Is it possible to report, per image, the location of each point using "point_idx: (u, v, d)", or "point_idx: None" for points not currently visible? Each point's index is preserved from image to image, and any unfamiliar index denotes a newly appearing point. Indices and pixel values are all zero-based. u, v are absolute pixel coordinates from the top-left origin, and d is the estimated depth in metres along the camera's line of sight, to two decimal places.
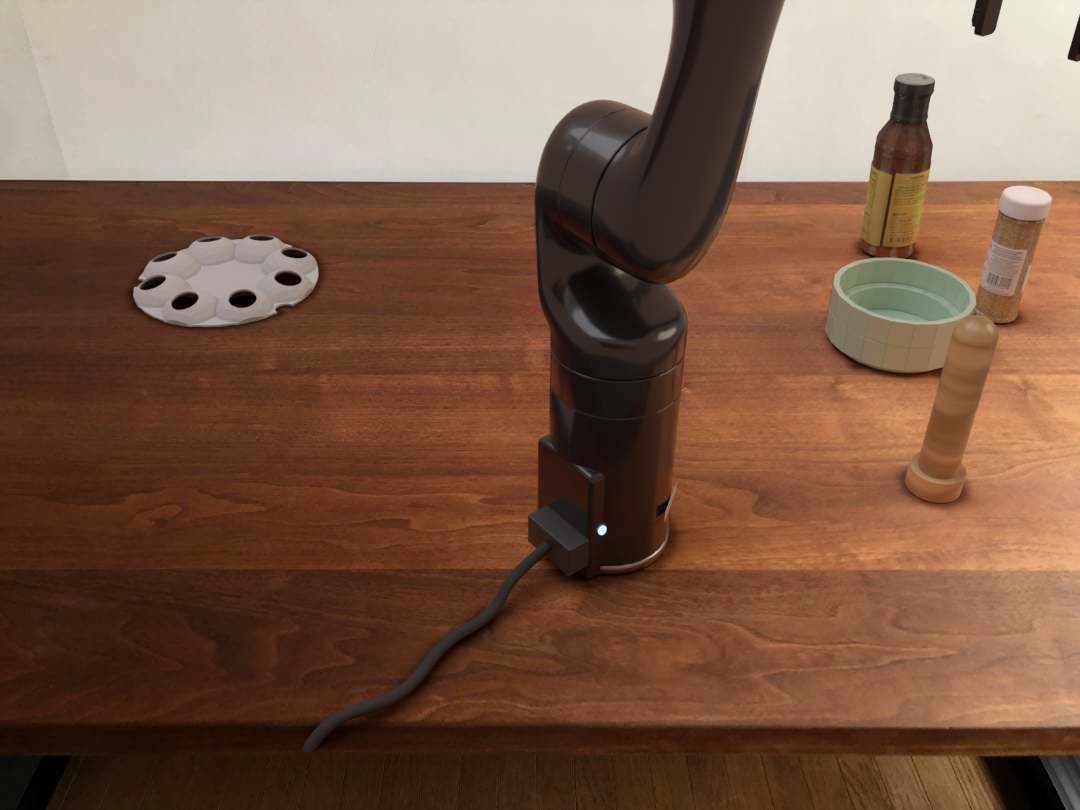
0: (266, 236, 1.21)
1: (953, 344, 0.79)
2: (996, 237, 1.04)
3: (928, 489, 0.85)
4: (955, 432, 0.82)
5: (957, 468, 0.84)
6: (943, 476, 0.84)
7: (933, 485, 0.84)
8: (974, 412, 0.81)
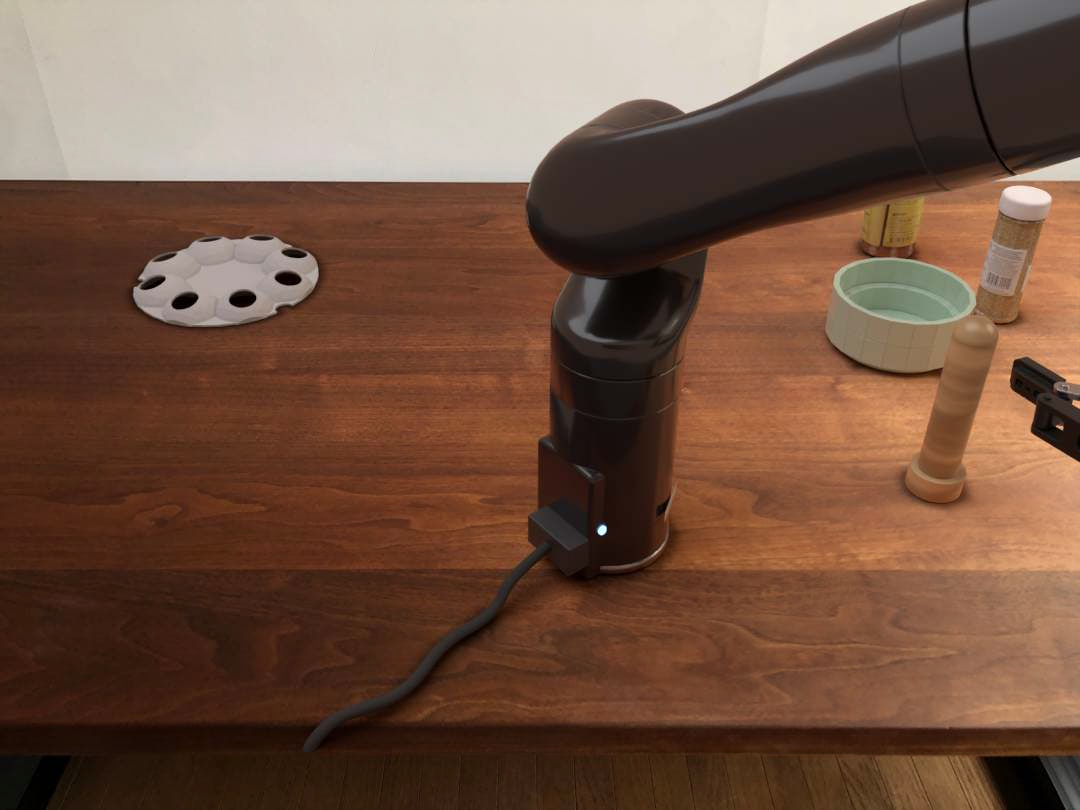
0: (266, 236, 1.21)
1: (953, 344, 0.79)
2: (996, 237, 1.04)
3: (928, 489, 0.85)
4: (955, 432, 0.82)
5: (957, 468, 0.84)
6: (943, 476, 0.84)
7: (933, 485, 0.84)
8: (974, 412, 0.81)
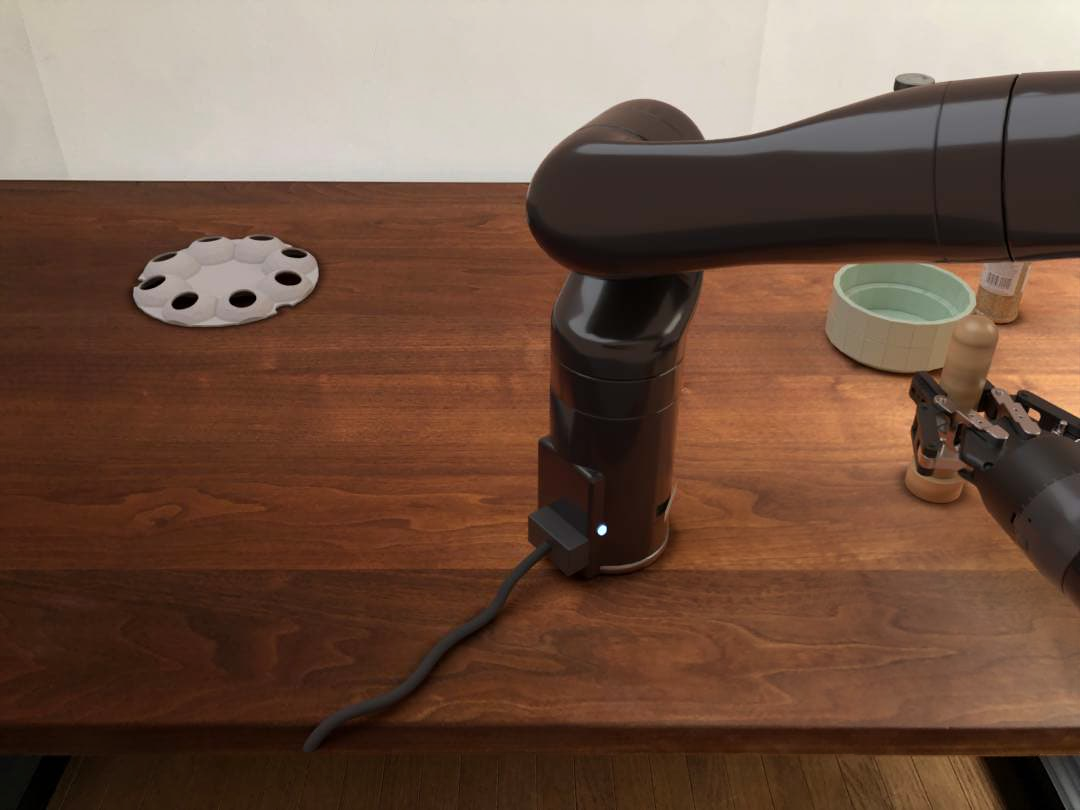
0: (266, 236, 1.21)
1: (953, 344, 0.79)
2: None
3: (928, 489, 0.85)
4: None
5: None
6: (943, 476, 0.84)
7: (933, 485, 0.84)
8: None
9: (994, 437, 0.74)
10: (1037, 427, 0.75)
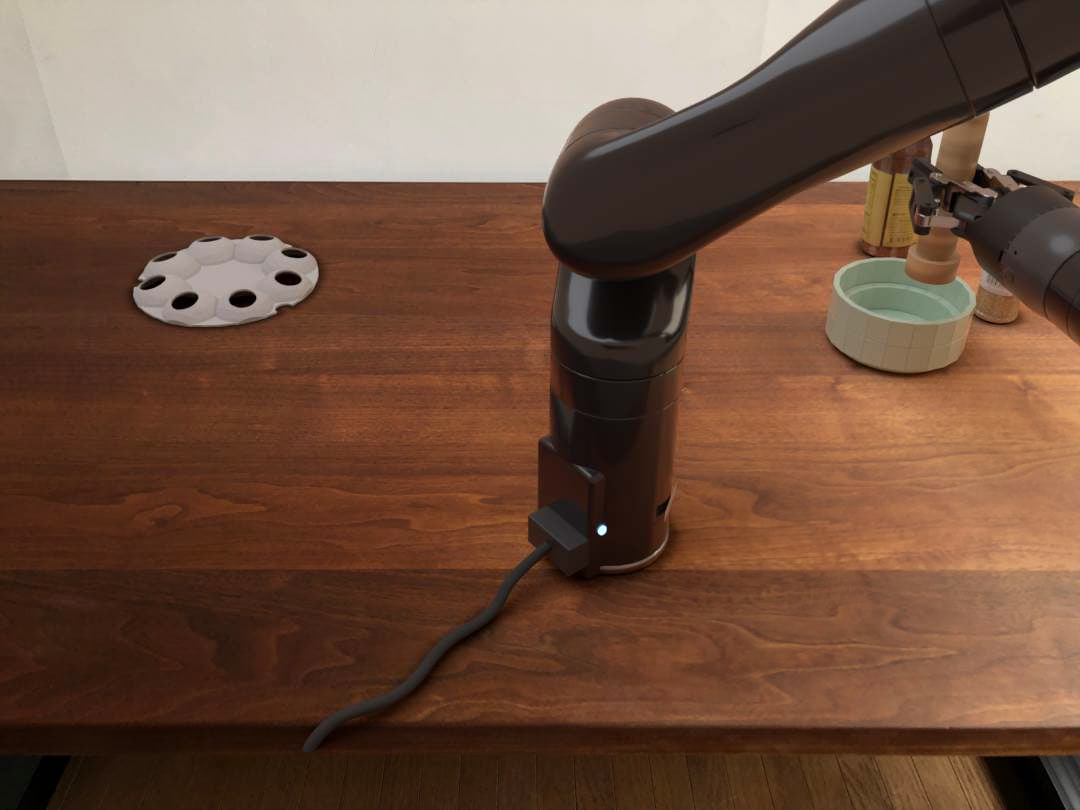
0: (266, 236, 1.21)
1: None
2: None
3: (925, 271, 0.91)
4: None
5: (952, 250, 0.91)
6: (939, 258, 0.91)
7: (930, 266, 0.91)
8: None
9: (984, 196, 0.81)
10: None
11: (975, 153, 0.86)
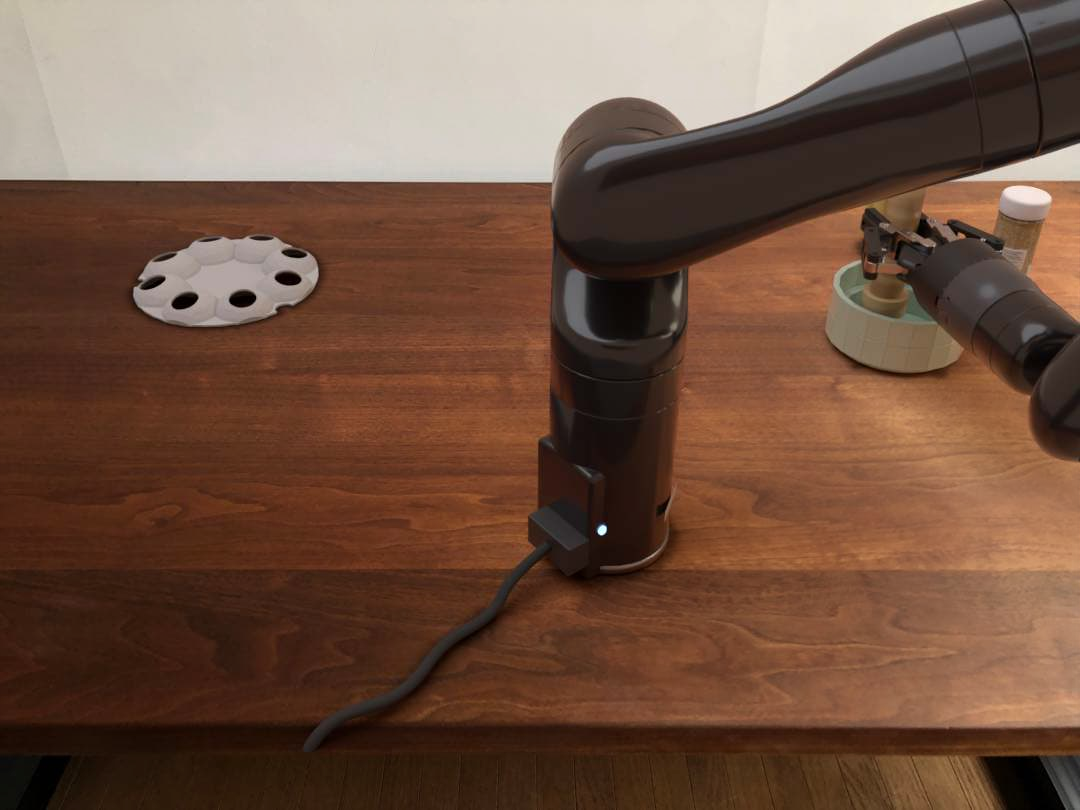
0: (266, 236, 1.21)
1: None
2: None
3: (877, 308, 1.02)
4: None
5: (901, 290, 1.02)
6: (889, 296, 1.02)
7: (881, 304, 1.02)
8: None
9: (924, 246, 0.92)
10: None
11: (918, 205, 0.97)
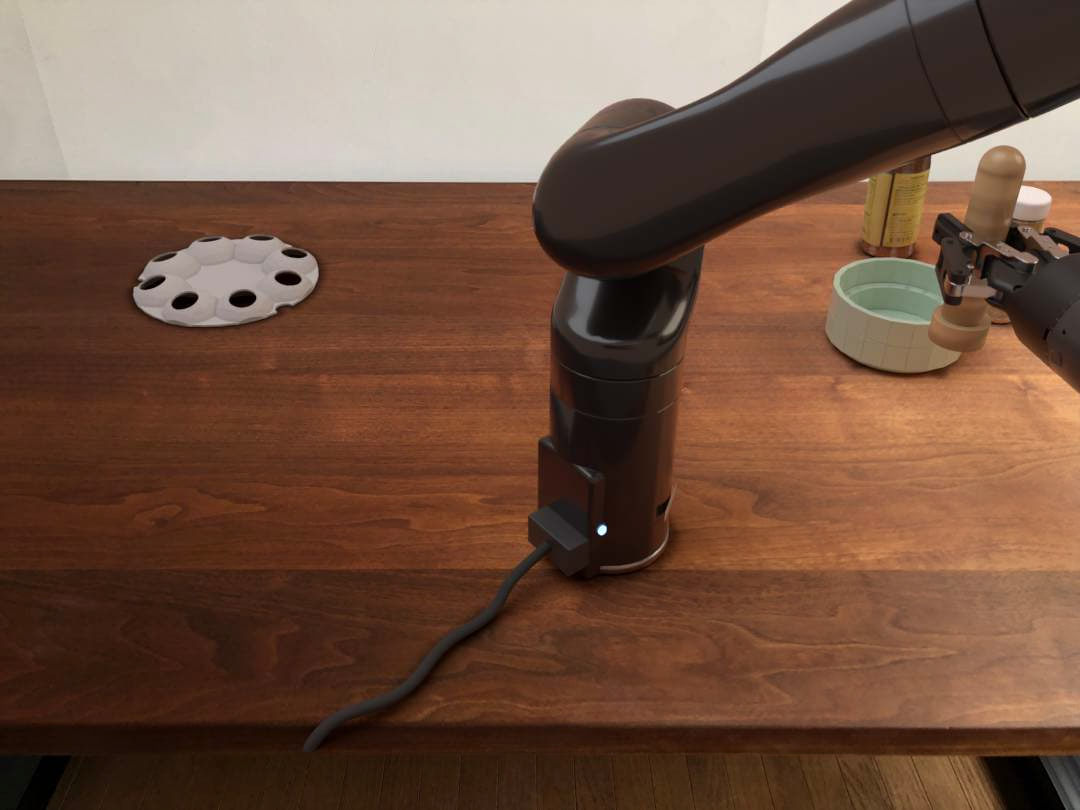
0: (266, 236, 1.21)
1: (979, 176, 0.77)
2: None
3: (952, 337, 0.82)
4: None
5: (982, 315, 0.82)
6: (968, 323, 0.82)
7: (958, 333, 0.82)
8: None
9: (1023, 262, 0.72)
10: (1067, 254, 0.73)
11: (1009, 210, 0.77)
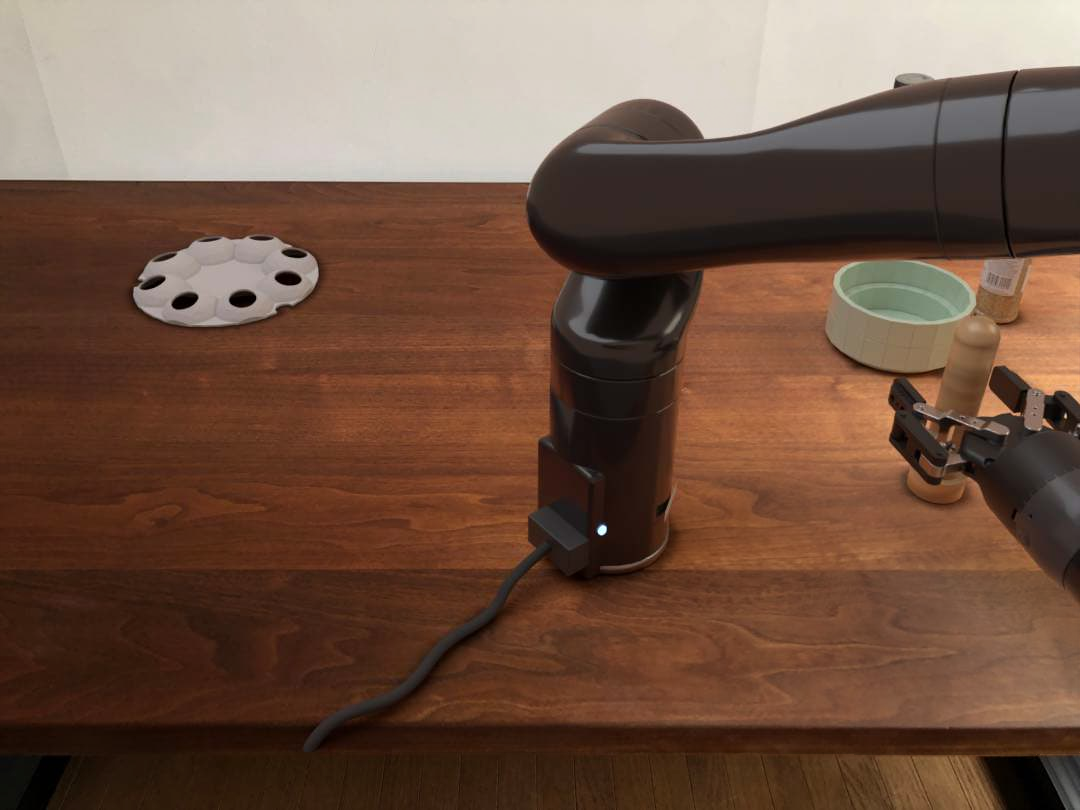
0: (266, 236, 1.21)
1: (955, 345, 0.79)
2: None
3: (930, 490, 0.84)
4: (957, 433, 0.82)
5: None
6: (945, 477, 0.84)
7: (935, 486, 0.84)
8: (976, 413, 0.81)
9: (998, 435, 0.74)
10: (1038, 423, 0.75)
11: (984, 377, 0.79)
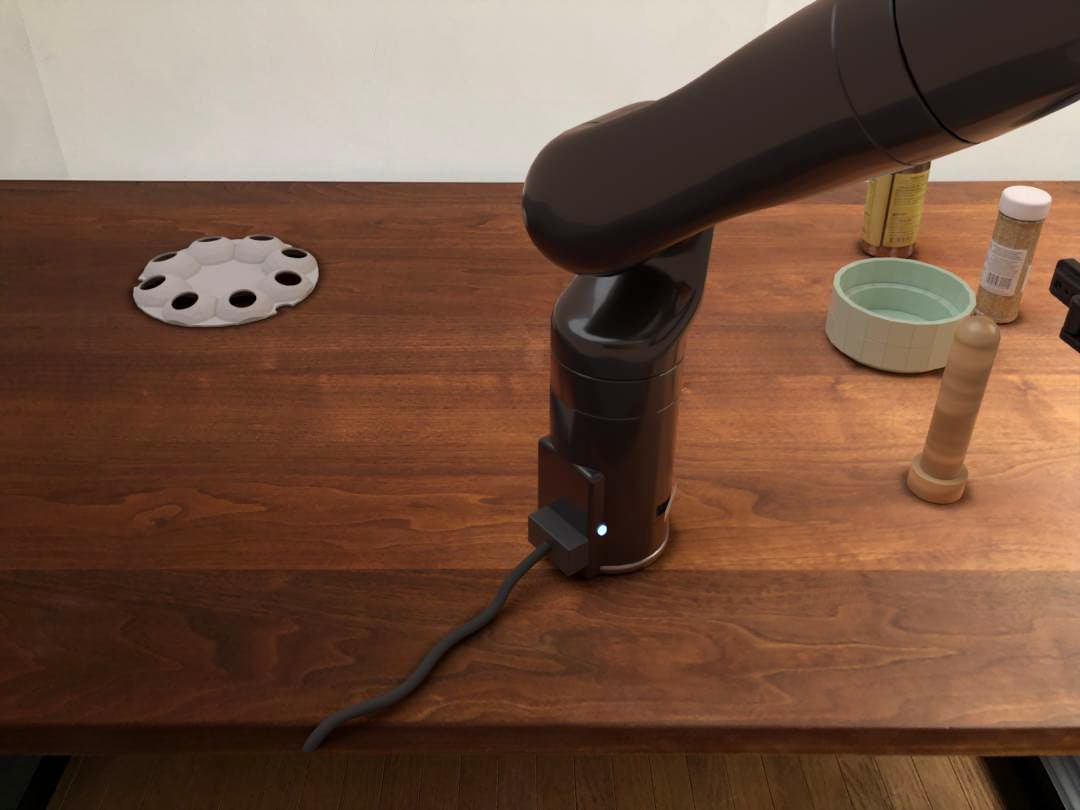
0: (266, 236, 1.21)
1: (955, 345, 0.79)
2: (996, 237, 1.04)
3: (930, 490, 0.84)
4: (957, 433, 0.82)
5: (959, 469, 0.84)
6: (945, 477, 0.84)
7: (935, 486, 0.84)
8: (976, 413, 0.81)
9: None
10: None
11: (984, 377, 0.79)
